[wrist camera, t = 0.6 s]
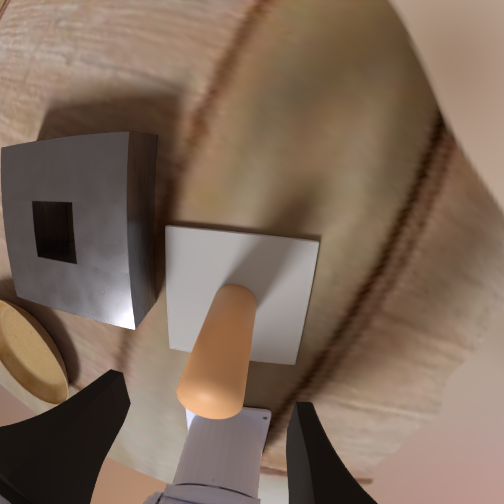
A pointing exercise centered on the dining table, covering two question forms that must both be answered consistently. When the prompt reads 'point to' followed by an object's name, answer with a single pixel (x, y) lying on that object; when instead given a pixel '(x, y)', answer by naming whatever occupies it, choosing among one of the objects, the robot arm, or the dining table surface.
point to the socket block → (83, 224)
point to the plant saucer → (31, 355)
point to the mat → (242, 273)
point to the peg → (220, 356)
